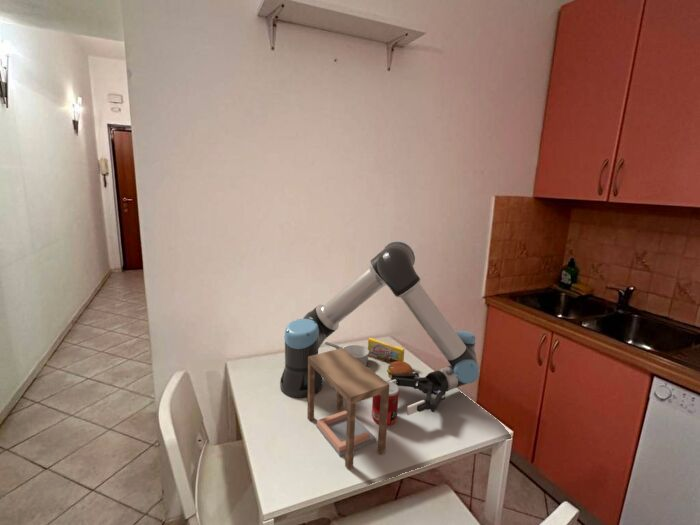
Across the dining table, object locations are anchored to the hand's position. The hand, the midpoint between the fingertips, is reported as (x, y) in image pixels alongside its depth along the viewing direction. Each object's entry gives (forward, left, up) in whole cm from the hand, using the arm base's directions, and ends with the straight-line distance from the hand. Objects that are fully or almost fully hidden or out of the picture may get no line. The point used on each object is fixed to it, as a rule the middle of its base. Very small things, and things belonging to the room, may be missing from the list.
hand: (393, 399), depth 115 cm
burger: (-6, +25, -7) cm, 27 cm away
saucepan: (-30, +25, -7) cm, 40 cm away
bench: (-9, -14, -6) cm, 18 cm away
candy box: (-16, +32, -7) cm, 37 cm away
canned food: (-2, -2, -7) cm, 7 cm away
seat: (-9, -14, -6) cm, 18 cm away
